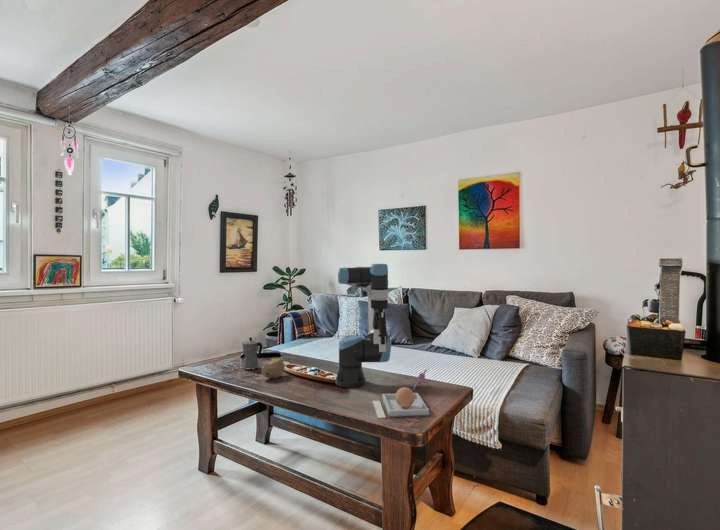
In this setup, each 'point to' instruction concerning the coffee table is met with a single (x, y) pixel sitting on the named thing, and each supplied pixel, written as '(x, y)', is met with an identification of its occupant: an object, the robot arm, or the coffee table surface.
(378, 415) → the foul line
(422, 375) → the lily
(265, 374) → the low-poly potato
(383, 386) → the coffee table surface
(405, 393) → the ball
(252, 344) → the coffeepot
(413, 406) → the tray
